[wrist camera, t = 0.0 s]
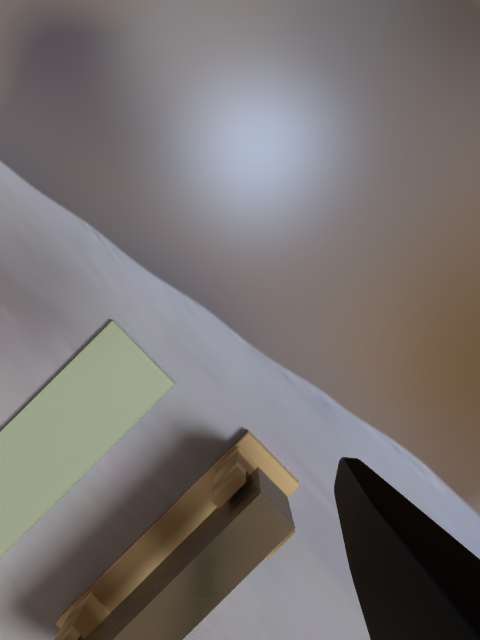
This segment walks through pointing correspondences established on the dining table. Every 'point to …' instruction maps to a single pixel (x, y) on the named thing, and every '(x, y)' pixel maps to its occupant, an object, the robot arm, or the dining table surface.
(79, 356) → the mat
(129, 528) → the dining table surface
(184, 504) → the rack
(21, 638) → the dining table surface
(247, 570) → the rail
